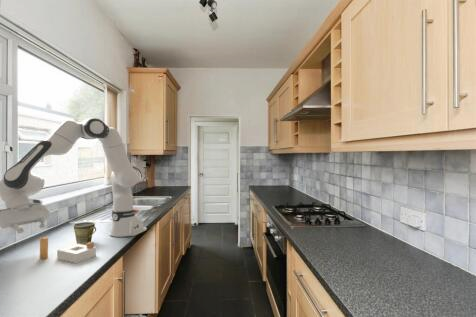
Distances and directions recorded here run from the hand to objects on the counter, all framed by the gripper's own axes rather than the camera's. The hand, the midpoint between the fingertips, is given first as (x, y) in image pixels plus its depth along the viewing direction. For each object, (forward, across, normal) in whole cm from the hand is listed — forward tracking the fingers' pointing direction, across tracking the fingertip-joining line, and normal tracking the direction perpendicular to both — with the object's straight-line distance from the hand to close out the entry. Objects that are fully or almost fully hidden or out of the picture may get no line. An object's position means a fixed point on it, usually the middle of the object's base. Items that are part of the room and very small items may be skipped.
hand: (32, 230), depth 127 cm
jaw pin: (+14, 0, +2) cm, 14 cm away
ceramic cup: (+13, +23, +4) cm, 27 cm away
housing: (+22, +7, -6) cm, 24 cm away
